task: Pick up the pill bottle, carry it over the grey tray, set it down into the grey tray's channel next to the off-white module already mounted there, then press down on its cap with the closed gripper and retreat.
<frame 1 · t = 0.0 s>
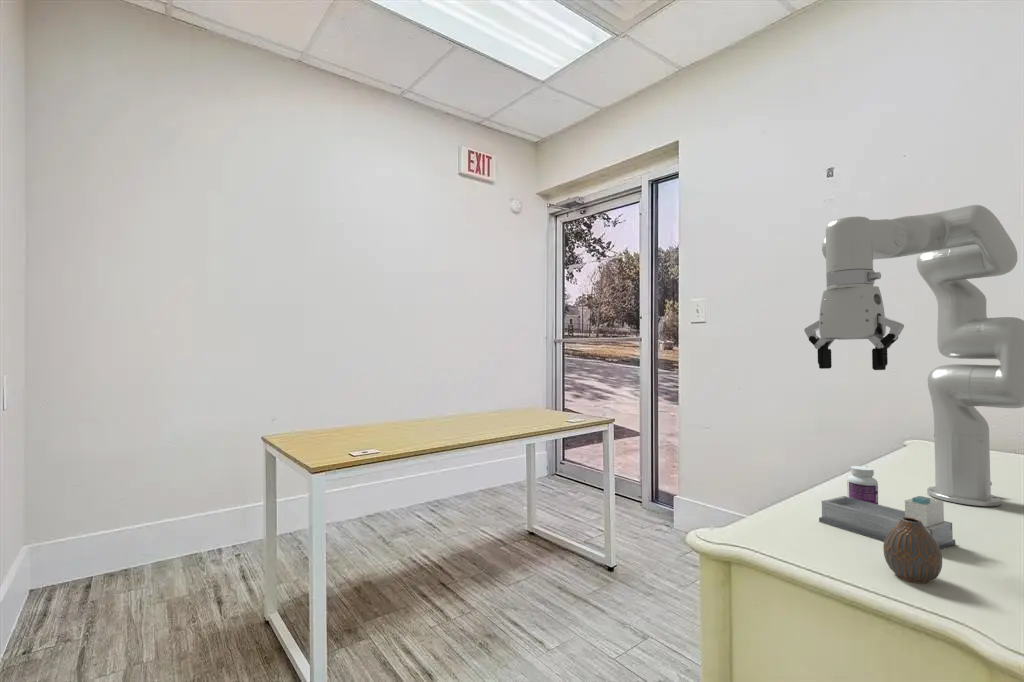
hand: (851, 369, 93), 31 cm above the cabinet, fingers open, 9 cm apart
vase: (912, 578, 73), on the cabinet
pill bottle: (863, 513, 103), on the cabinet
grey tray: (882, 532, 91), on the cabinet
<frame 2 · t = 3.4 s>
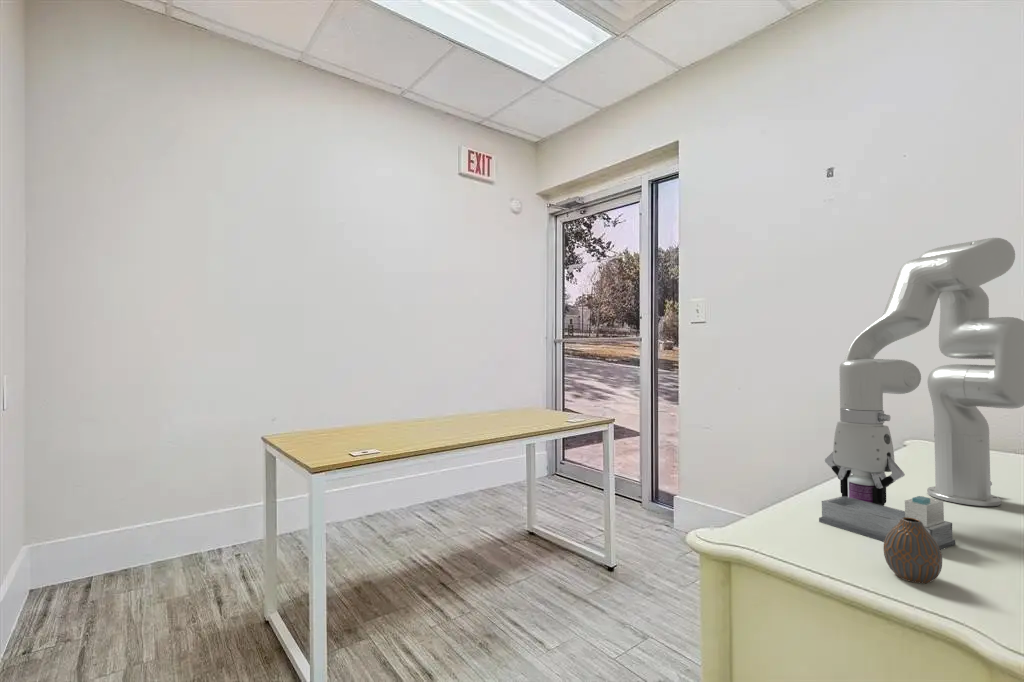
hand: (862, 501, 103), 3 cm above the cabinet, fingers closed on pill bottle, 5 cm apart
pill bottle: (863, 513, 103), on the cabinet, touching gripper
everything else where it was.
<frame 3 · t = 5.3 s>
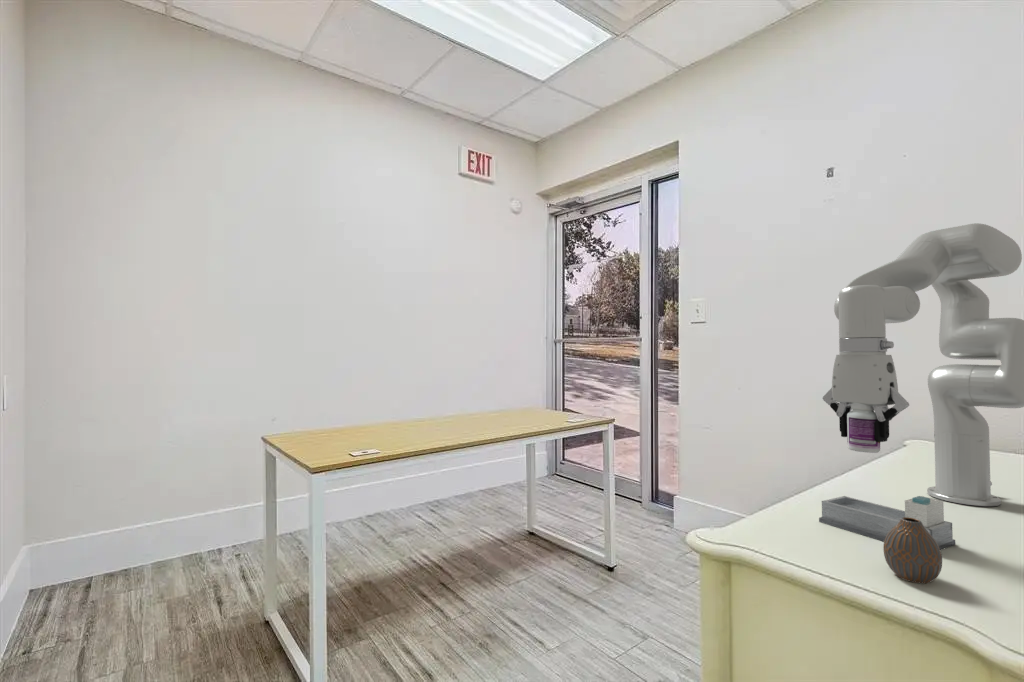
hand: (863, 437, 95), 17 cm above the cabinet, fingers closed on pill bottle, 5 cm apart
pill bottle: (863, 451, 95), point 15 cm above the cabinet, touching gripper
everything else where it was.
when the fingers open (7 cm above the cabinet, at t = 7.7 s): pill bottle drops 1 cm, resting on grey tray.
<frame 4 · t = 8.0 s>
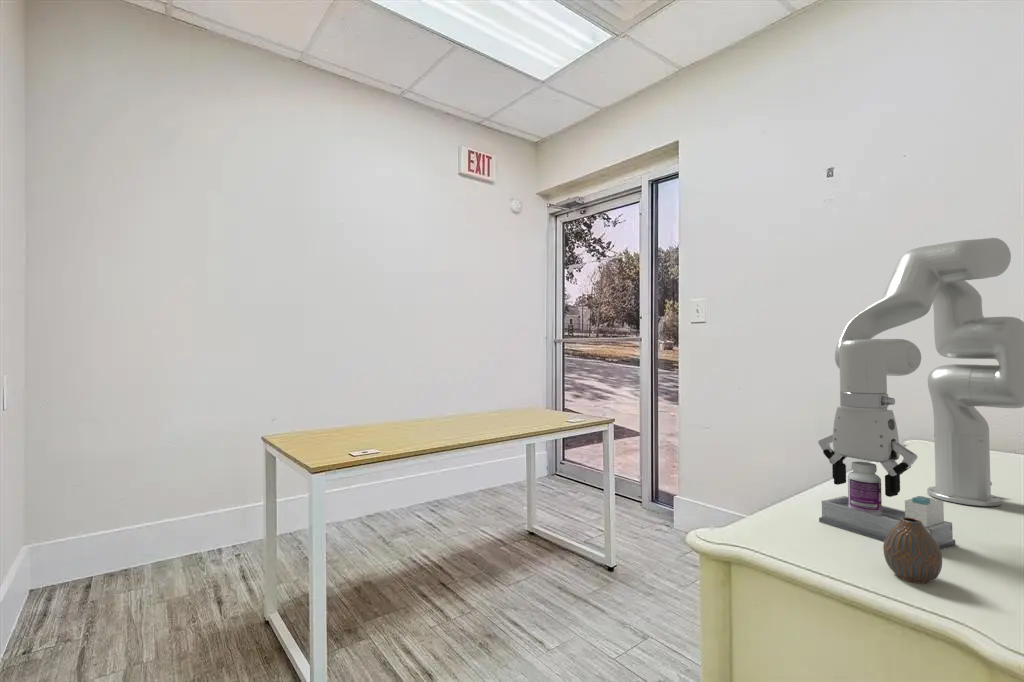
hand: (864, 489, 94), 7 cm above the cabinet, fingers open, 8 cm apart
pill bottle: (865, 513, 94), point 3 cm above the cabinet, touching grey tray
everything else where it was.
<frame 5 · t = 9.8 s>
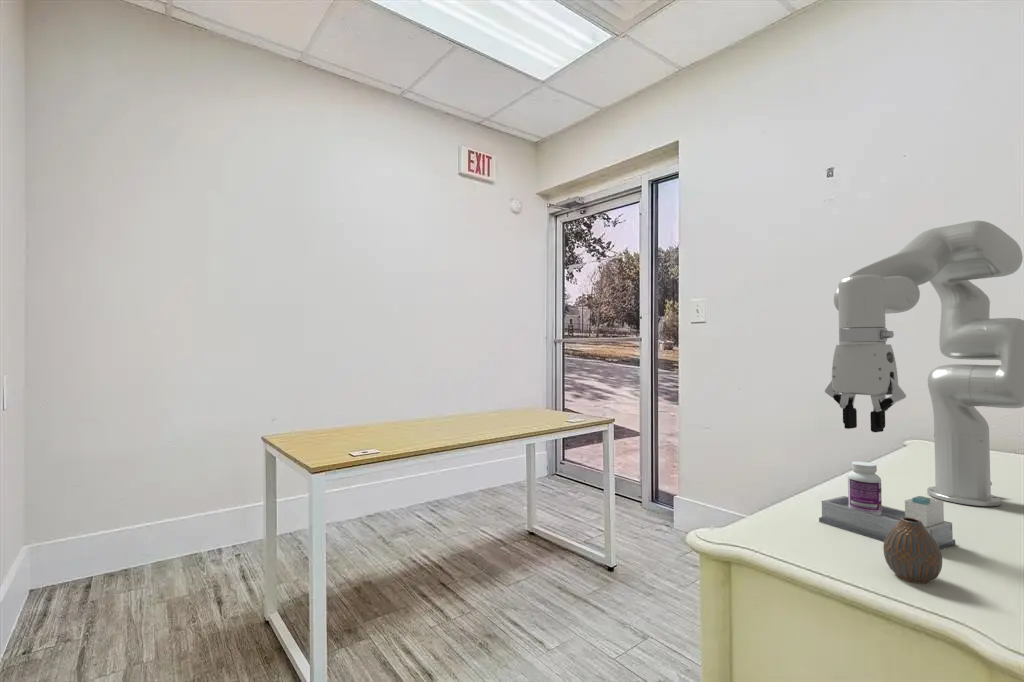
hand: (863, 428, 95), 19 cm above the cabinet, fingers open, 4 cm apart
nothing on the cabinet moved.
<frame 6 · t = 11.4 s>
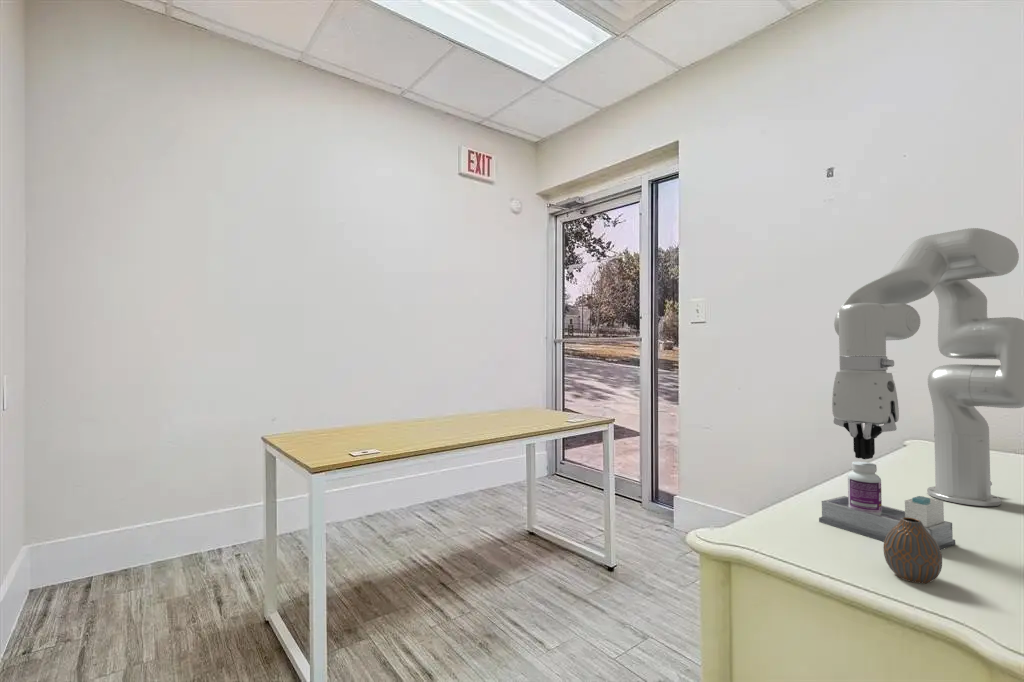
hand: (864, 457, 94), 14 cm above the cabinet, fingers closed
nothing on the cabinet moved.
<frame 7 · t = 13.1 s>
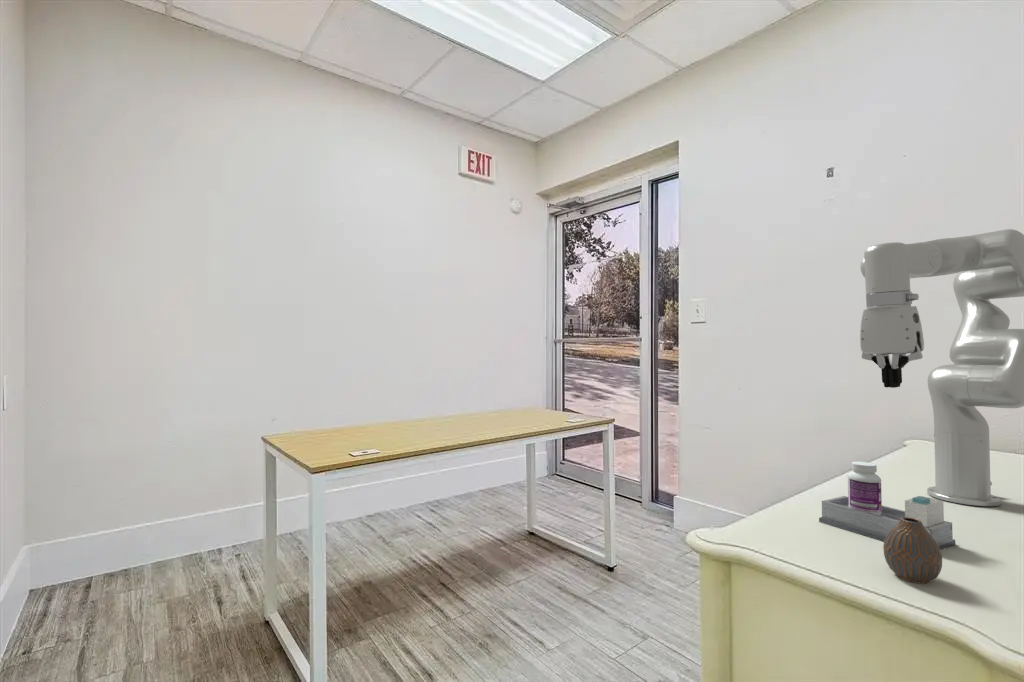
hand: (892, 386, 102), 27 cm above the cabinet, fingers closed
nothing on the cabinet moved.
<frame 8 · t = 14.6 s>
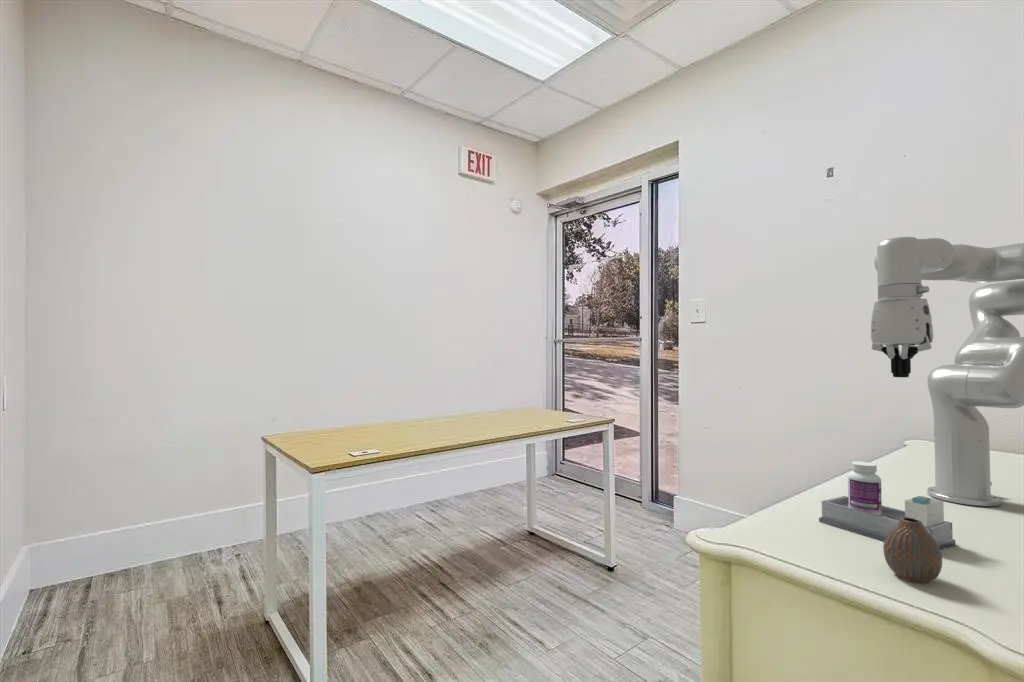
hand: (900, 376, 105), 29 cm above the cabinet, fingers closed
nothing on the cabinet moved.
at the end: pill bottle inside the target area on the grey tray (1.4 cm from its centre), point 2.6 cm above the grey tray's base; pill bottle tilted 0°; the gripper is holding nothing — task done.
